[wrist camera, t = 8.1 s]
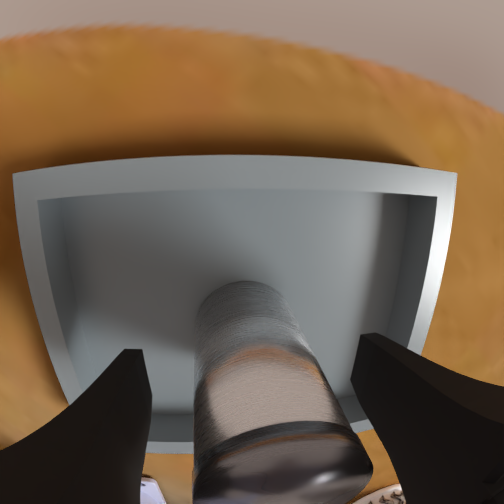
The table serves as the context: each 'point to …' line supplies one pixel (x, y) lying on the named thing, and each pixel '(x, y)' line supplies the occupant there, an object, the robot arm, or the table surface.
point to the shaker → (266, 408)
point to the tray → (227, 261)
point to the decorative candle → (384, 496)
